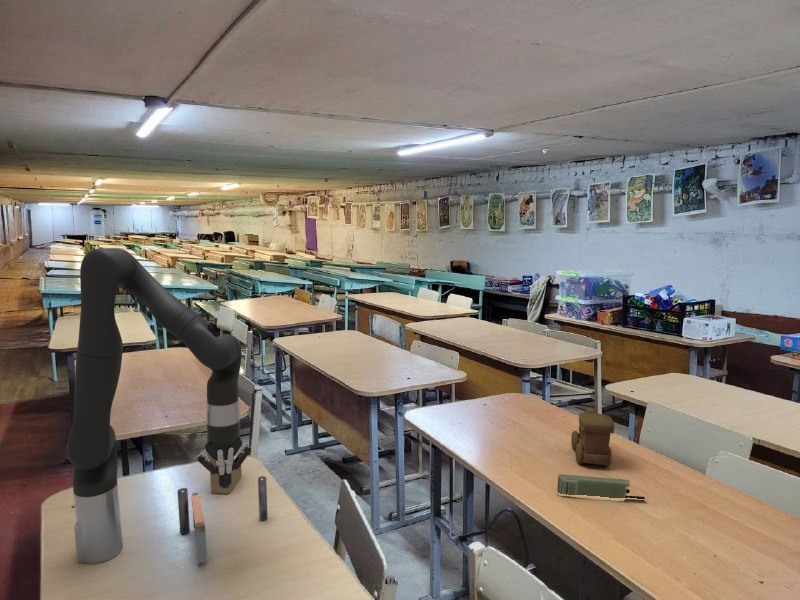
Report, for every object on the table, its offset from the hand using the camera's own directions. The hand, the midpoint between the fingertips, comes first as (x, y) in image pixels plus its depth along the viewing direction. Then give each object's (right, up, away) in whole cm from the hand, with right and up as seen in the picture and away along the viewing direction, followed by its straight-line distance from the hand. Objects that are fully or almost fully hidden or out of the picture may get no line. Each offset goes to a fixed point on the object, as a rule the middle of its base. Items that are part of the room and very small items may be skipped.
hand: (224, 486), depth 127 cm
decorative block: (-11, -12, +34) cm, 38 cm away
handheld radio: (+103, -15, +30) cm, 108 cm away
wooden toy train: (+109, -10, +56) cm, 123 cm away
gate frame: (-5, -15, +14) cm, 21 cm away
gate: (-8, -16, +5) cm, 18 cm away
